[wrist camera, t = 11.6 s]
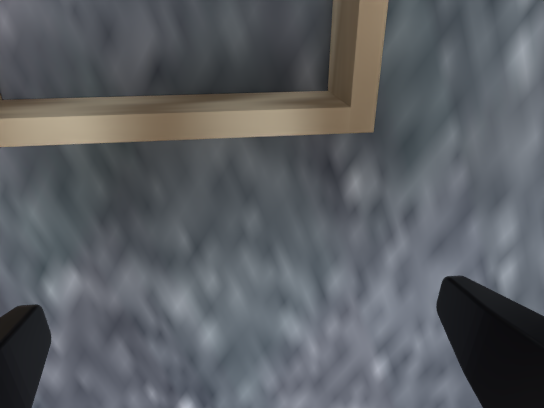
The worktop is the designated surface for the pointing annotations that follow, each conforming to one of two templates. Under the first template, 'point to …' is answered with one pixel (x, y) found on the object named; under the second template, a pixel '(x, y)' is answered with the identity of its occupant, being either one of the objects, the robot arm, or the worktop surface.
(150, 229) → the worktop surface
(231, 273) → the worktop surface
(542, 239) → the worktop surface
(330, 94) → the birch rack
